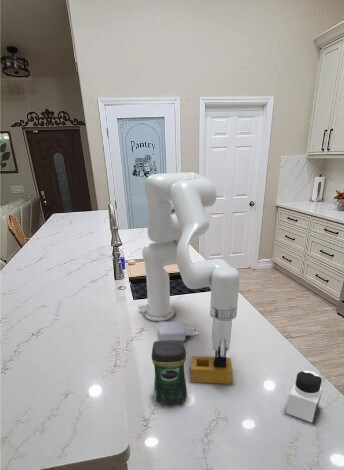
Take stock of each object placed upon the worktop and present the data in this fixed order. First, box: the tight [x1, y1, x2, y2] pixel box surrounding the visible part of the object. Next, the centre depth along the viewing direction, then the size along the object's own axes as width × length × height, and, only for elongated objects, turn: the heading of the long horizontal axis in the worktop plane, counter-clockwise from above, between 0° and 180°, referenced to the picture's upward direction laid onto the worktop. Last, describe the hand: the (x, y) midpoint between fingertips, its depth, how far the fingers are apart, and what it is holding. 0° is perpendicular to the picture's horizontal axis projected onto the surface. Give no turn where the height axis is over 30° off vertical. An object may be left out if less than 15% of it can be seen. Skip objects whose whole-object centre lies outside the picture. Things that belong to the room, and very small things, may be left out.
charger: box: [158, 320, 200, 342], centre depth 126 cm, size 5×9×15 cm
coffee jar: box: [151, 340, 188, 405], centre depth 93 cm, size 10×8×19 cm
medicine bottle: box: [285, 370, 324, 423], centre depth 88 cm, size 7×7×12 cm
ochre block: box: [190, 355, 233, 385], centre depth 104 cm, size 12×7×5 cm, turn 85°
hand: (220, 362), depth 102 cm, fingers closed on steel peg, 3 cm apart
